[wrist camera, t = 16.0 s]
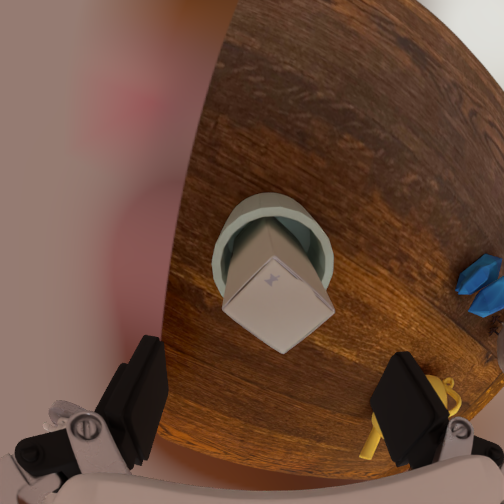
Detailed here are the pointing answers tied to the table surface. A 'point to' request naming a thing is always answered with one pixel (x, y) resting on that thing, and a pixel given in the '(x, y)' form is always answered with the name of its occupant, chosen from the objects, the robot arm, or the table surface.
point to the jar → (290, 217)
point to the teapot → (441, 391)
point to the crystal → (483, 285)
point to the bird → (499, 343)
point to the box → (274, 286)
